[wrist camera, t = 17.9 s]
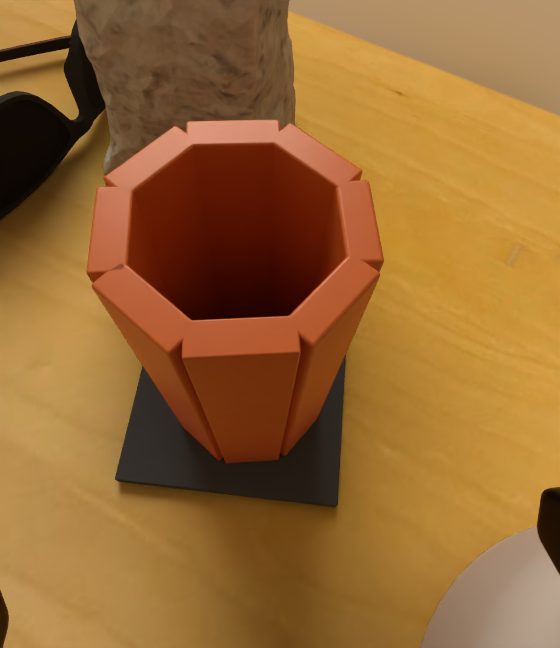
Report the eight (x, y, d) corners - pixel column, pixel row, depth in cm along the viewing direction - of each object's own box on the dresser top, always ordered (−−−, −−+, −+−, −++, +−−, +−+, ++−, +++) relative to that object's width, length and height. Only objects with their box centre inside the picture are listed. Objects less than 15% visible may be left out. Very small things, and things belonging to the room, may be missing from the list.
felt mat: (335, 507, 19) (337, 506, 19) (117, 481, 20) (114, 479, 19) (346, 311, 23) (348, 306, 23) (163, 290, 23) (162, 285, 23)
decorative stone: (166, 80, 30) (90, -296, 16) (311, 106, 29) (353, -259, 16) (106, 208, 25) (-63, -160, 12) (274, 243, 25) (289, -103, 12)
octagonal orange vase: (344, 386, 21) (434, 216, 10) (253, 493, 19) (244, 423, 8) (245, 305, 23) (231, 82, 12) (150, 397, 21) (28, 229, 10)
